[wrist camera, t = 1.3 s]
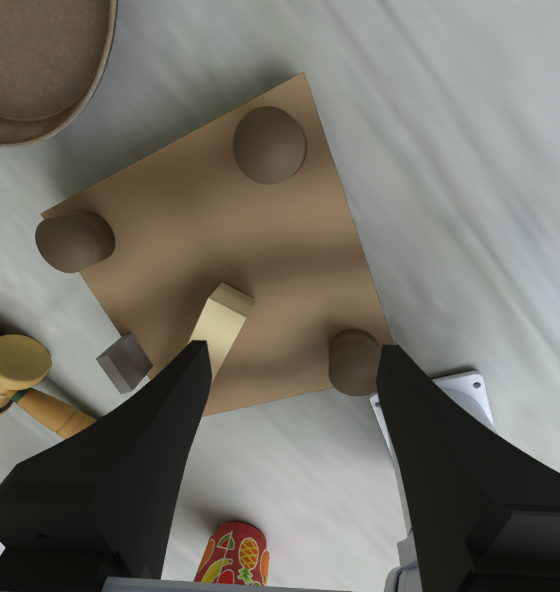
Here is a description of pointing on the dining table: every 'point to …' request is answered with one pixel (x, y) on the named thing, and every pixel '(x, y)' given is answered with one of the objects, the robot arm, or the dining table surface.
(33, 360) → the kendama
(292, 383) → the stool seat
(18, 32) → the plant saucer
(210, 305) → the hinged leg
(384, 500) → the dining table surface
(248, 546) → the smoothie
